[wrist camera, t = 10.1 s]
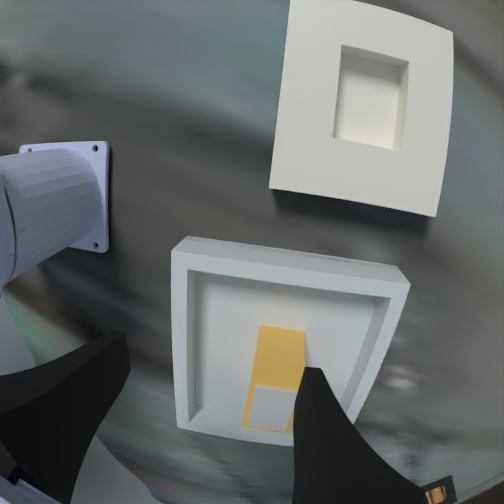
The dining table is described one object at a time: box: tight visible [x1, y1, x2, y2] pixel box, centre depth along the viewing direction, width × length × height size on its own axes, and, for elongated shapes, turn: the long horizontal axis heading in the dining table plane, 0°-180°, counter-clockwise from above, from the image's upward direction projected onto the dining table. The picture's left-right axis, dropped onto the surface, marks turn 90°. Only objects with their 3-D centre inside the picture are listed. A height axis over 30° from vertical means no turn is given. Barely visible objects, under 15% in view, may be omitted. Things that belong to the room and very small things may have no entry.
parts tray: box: [171, 236, 411, 446], centre depth 21 cm, size 14×16×3 cm
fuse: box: [242, 324, 305, 433], centre depth 19 cm, size 3×4×6 cm, turn 172°
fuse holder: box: [269, 0, 453, 217], centre depth 15 cm, size 10×12×2 cm
